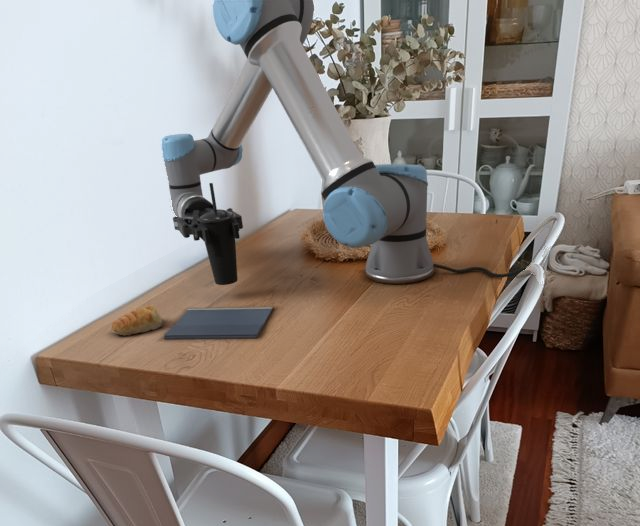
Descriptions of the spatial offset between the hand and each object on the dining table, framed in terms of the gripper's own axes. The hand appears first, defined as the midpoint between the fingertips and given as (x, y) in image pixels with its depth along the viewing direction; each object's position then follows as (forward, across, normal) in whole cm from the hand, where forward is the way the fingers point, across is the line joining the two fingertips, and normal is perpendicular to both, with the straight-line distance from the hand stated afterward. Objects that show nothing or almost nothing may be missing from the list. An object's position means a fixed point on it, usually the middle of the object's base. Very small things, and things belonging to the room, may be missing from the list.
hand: (222, 234), depth 123 cm
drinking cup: (-5, 0, -11) cm, 13 cm away
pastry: (+3, +20, -15) cm, 25 cm away
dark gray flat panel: (+9, +5, -15) cm, 18 cm away
